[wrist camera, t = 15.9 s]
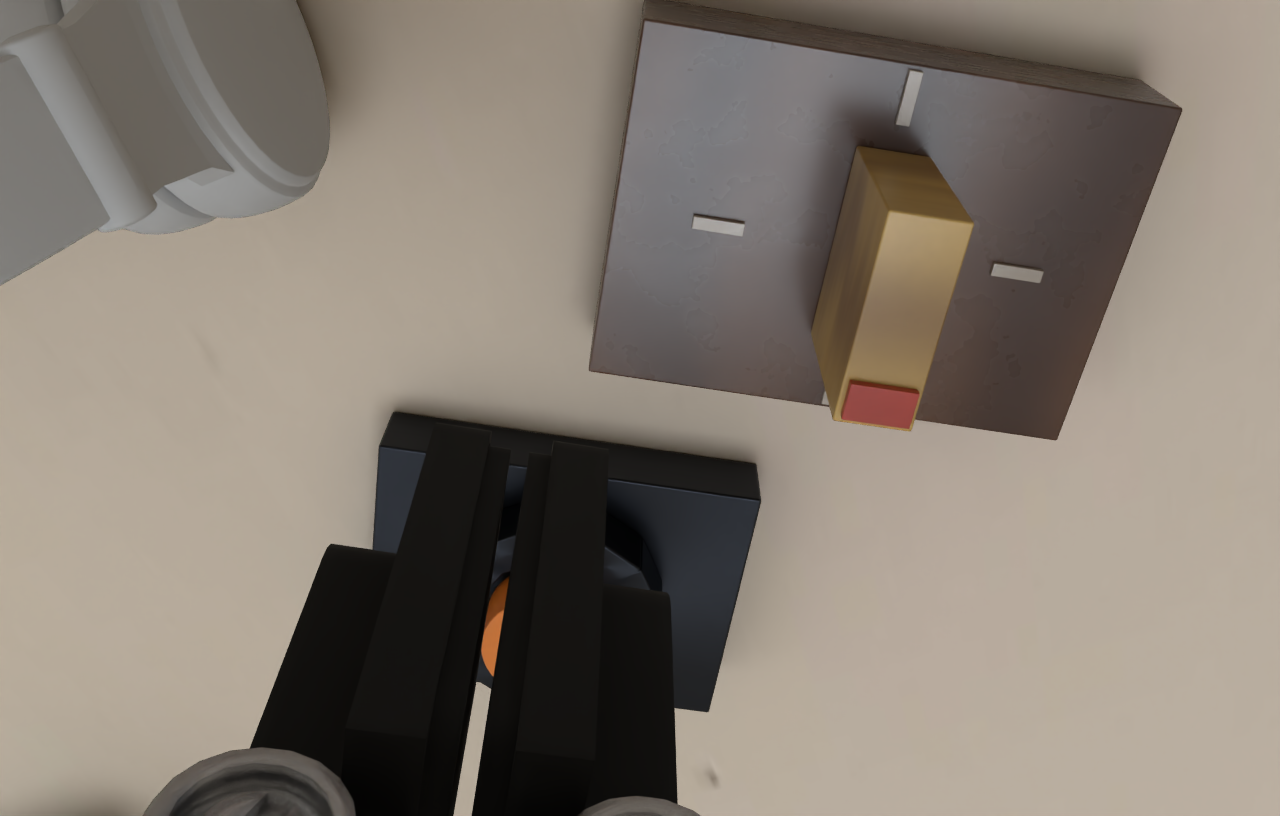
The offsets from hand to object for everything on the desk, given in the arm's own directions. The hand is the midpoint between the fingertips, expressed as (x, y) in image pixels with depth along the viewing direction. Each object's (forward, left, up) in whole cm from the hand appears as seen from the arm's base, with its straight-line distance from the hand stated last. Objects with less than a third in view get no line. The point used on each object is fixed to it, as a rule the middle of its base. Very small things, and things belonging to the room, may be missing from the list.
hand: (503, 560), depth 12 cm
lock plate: (+8, -4, -24) cm, 26 cm away
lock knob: (+8, -4, -21) cm, 23 cm away
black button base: (+1, -17, -24) cm, 30 cm away
